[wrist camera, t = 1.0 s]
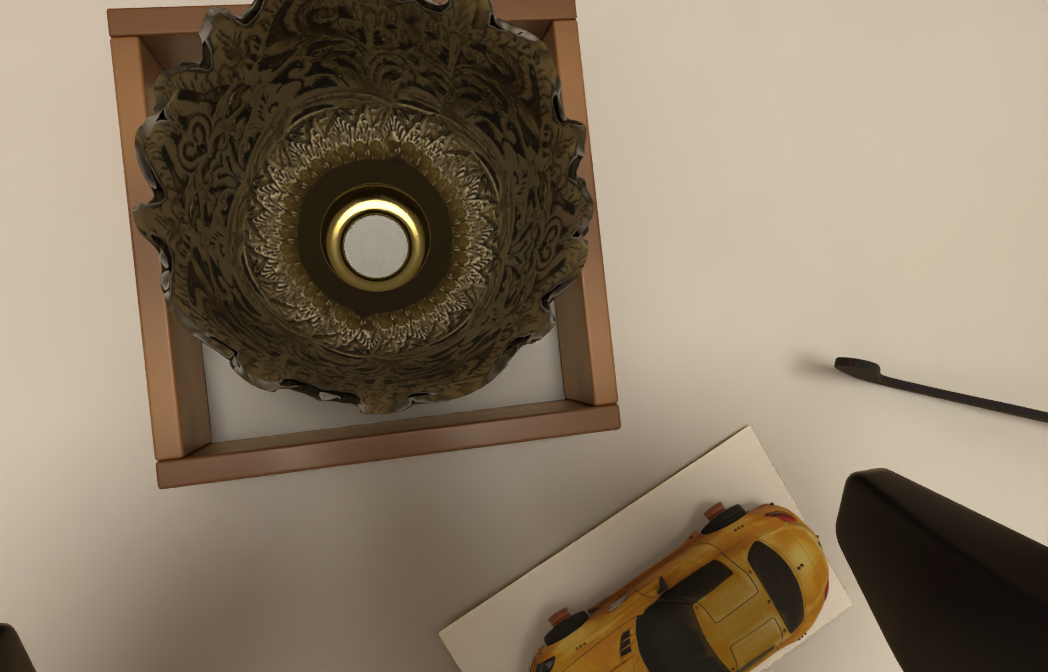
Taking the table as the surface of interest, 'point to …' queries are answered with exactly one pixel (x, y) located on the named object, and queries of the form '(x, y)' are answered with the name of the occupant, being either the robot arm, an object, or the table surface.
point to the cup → (364, 195)
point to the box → (188, 459)
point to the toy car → (668, 583)
